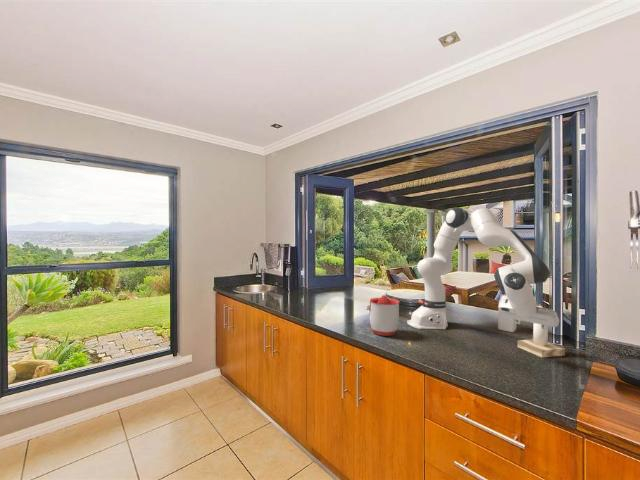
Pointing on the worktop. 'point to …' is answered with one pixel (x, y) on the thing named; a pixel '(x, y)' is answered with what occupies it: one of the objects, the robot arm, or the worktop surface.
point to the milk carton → (505, 322)
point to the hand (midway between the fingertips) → (530, 325)
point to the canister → (540, 335)
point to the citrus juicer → (384, 315)
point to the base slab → (541, 348)
